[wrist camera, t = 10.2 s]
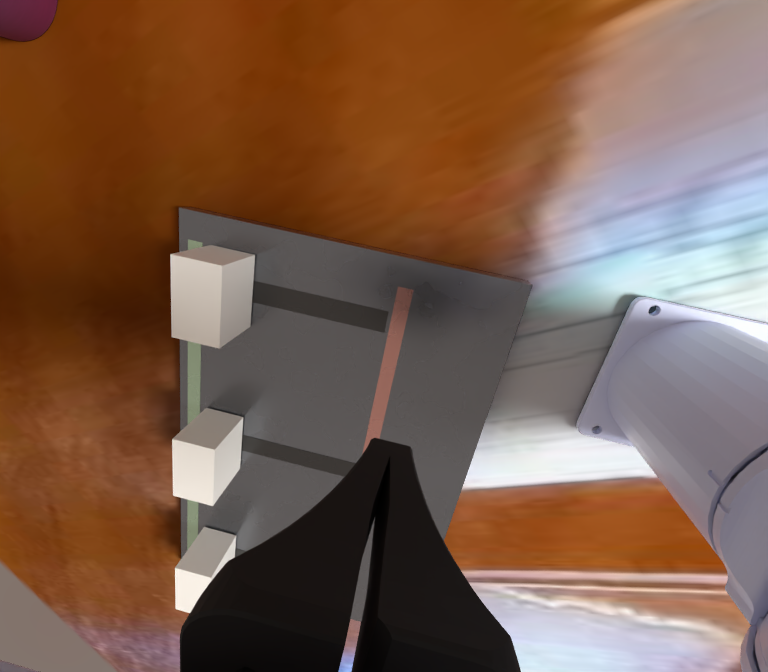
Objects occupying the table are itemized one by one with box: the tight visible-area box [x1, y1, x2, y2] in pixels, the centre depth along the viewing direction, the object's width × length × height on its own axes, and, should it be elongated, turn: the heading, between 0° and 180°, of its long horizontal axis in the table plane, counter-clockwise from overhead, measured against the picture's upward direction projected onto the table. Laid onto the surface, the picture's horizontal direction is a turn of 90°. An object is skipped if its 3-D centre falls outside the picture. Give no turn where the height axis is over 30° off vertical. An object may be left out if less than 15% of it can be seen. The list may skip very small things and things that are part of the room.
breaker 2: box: [175, 527, 236, 613], centre depth 26 cm, size 2×4×3 cm, turn 169°
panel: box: [179, 207, 532, 622], centre depth 24 cm, size 18×27×1 cm, turn 169°
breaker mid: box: [172, 408, 243, 506], centre depth 23 cm, size 2×4×3 cm, turn 169°
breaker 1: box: [170, 245, 255, 348], centre depth 19 cm, size 2×4×3 cm, turn 169°
